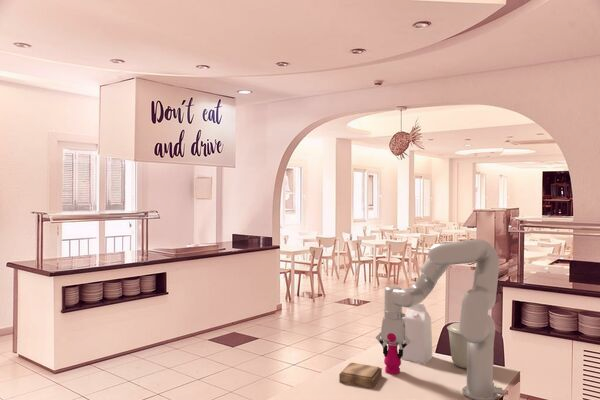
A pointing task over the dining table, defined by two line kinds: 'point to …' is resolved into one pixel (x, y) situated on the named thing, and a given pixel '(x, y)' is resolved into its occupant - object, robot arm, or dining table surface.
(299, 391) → the dining table surface
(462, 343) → the canister
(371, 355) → the dining table surface
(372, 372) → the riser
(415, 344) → the milk
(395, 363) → the pepper mill
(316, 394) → the dining table surface
